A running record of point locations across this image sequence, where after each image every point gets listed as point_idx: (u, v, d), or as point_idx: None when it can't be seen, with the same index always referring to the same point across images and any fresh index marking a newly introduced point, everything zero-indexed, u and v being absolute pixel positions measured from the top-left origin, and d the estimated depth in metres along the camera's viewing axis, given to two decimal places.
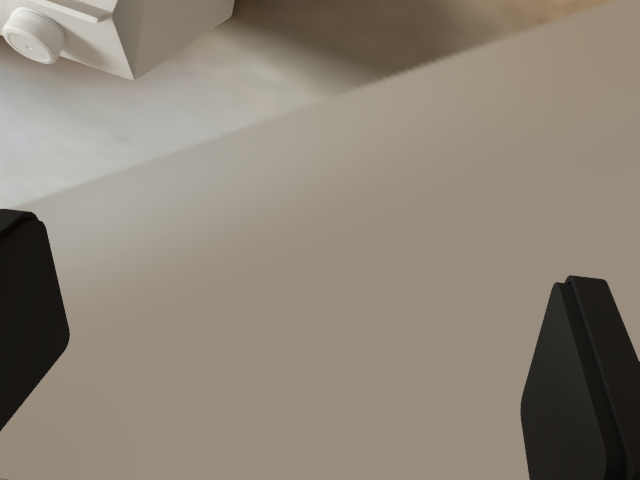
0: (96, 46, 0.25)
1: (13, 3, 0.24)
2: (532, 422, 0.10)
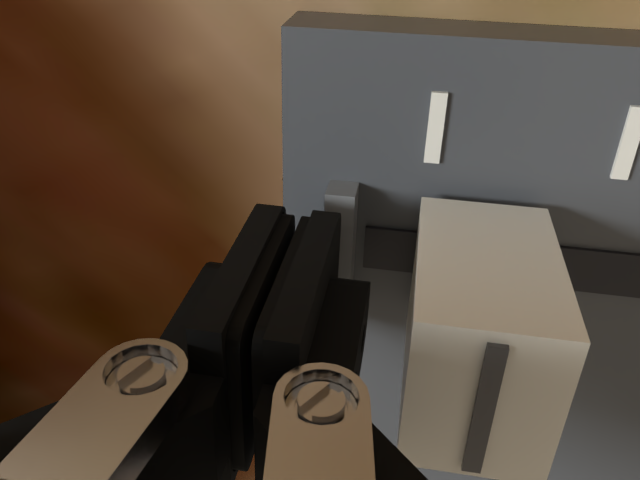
0: None
1: None
2: None
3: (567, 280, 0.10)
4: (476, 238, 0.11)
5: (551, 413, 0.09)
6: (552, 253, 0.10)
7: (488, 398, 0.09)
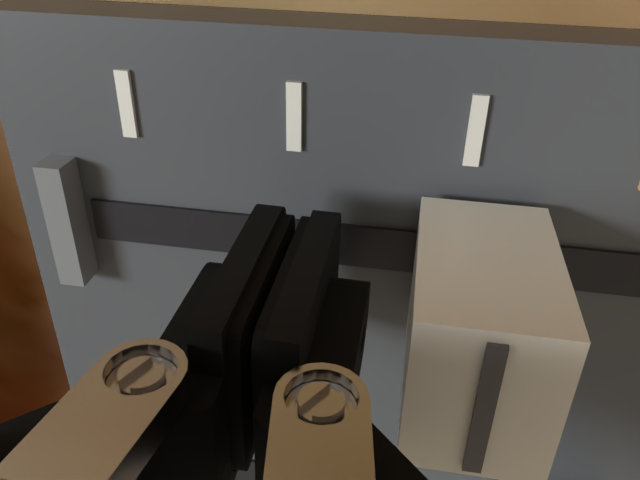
0: None
1: None
2: None
3: (567, 280, 0.10)
4: (476, 238, 0.11)
5: (552, 414, 0.09)
6: (552, 252, 0.10)
7: (489, 397, 0.09)
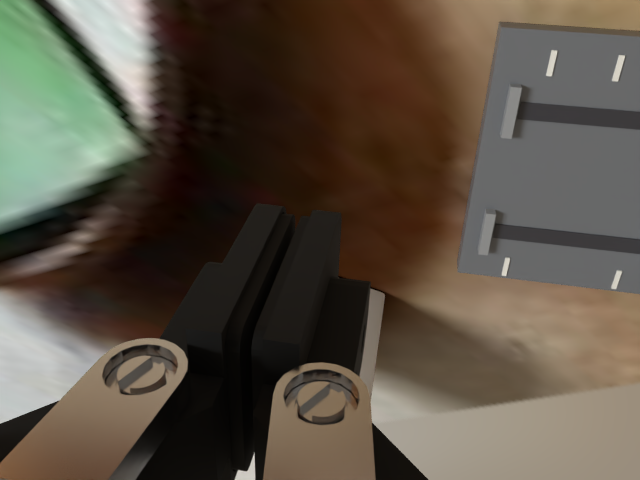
0: None
1: None
2: None
3: None
4: None
5: None
6: None
7: None
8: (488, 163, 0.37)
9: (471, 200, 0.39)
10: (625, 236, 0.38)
